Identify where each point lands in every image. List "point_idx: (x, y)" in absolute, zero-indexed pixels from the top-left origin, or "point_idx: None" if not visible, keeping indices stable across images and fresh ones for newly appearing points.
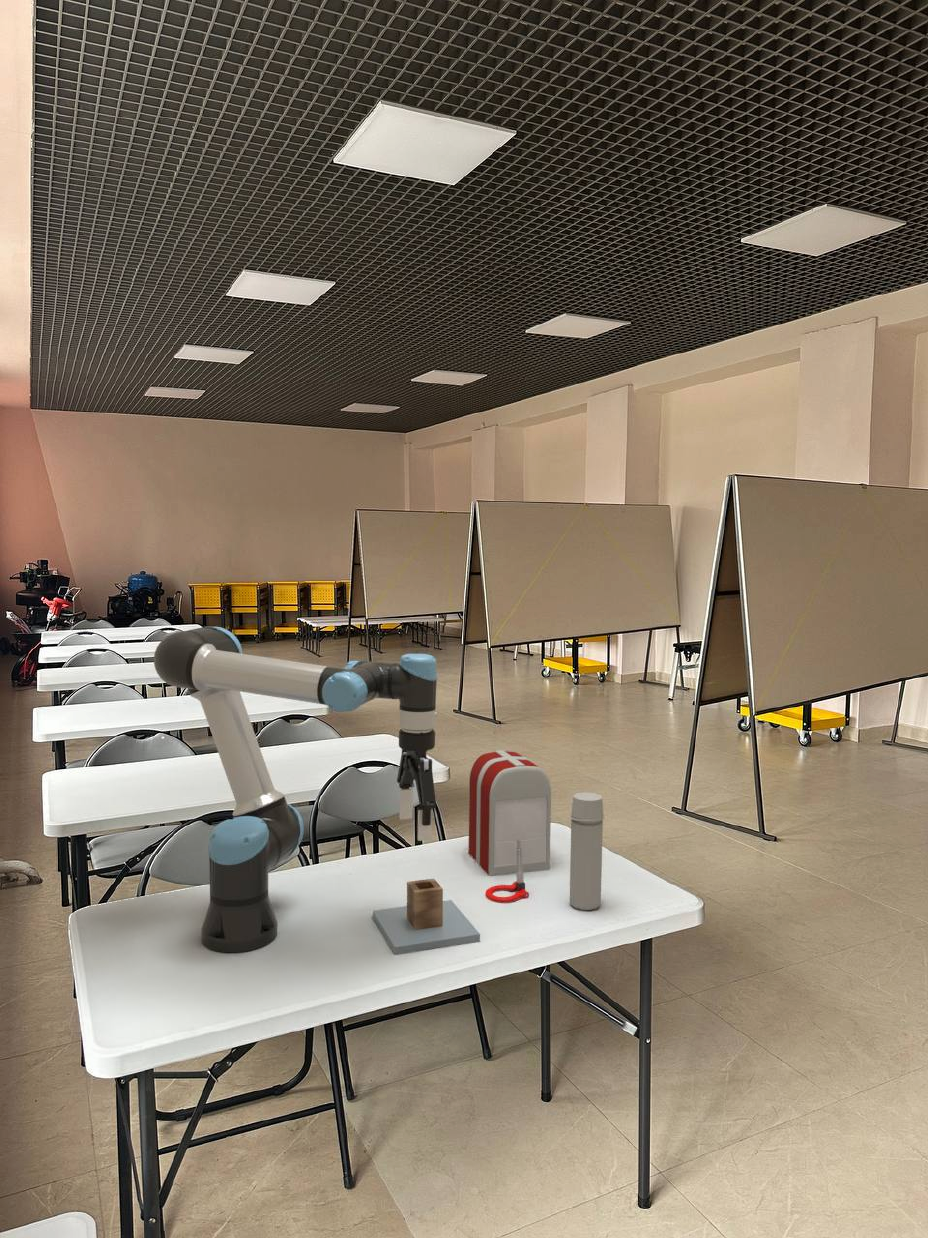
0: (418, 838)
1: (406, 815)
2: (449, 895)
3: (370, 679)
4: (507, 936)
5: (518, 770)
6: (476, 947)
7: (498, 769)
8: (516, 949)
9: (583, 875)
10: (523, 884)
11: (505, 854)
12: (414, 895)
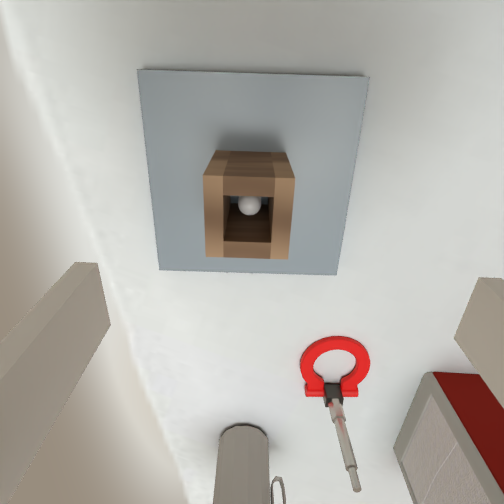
0: (68, 269)
1: (477, 325)
2: (387, 282)
3: None
4: (171, 310)
5: None
6: (140, 248)
7: None
8: (118, 305)
9: (218, 491)
10: (325, 403)
11: (435, 429)
12: (210, 172)
